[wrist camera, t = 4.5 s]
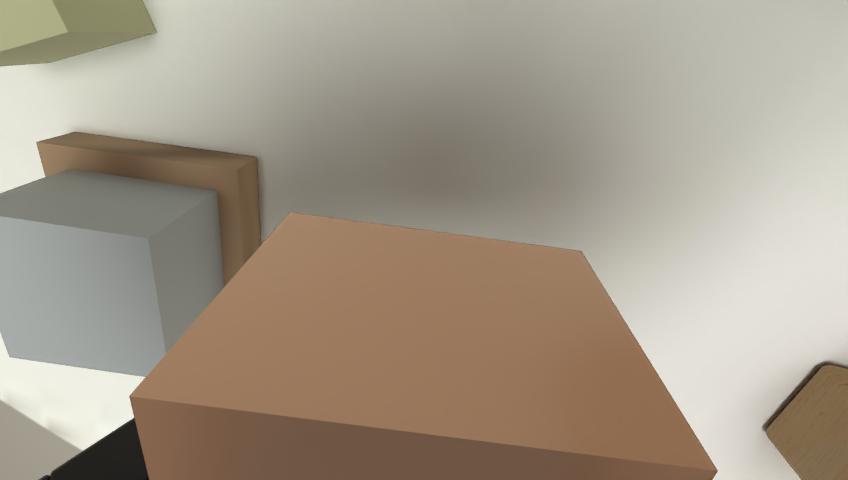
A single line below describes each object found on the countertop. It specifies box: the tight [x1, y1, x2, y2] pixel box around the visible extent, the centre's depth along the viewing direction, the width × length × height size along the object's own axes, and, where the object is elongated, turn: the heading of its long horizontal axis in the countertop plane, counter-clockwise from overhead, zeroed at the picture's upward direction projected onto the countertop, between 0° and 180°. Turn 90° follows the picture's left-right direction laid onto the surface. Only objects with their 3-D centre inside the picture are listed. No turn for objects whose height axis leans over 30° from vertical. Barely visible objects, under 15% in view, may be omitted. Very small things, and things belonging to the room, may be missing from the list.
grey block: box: [0, 168, 224, 377], centre depth 17 cm, size 6×6×4 cm
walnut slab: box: [36, 132, 261, 287], centre depth 20 cm, size 8×8×2 cm
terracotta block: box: [129, 212, 717, 480], centre depth 7 cm, size 6×6×4 cm
